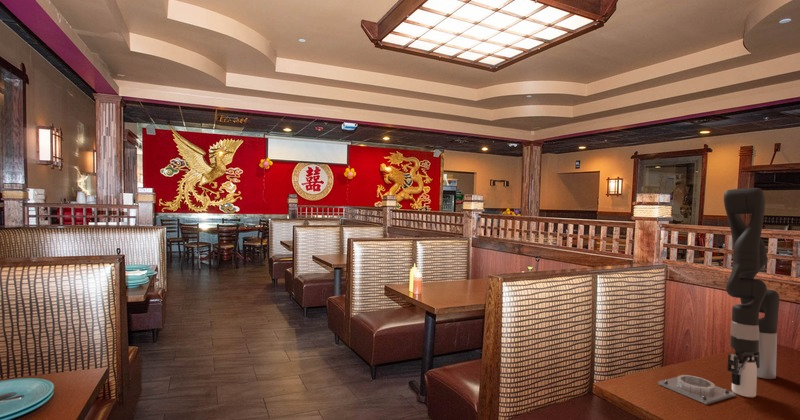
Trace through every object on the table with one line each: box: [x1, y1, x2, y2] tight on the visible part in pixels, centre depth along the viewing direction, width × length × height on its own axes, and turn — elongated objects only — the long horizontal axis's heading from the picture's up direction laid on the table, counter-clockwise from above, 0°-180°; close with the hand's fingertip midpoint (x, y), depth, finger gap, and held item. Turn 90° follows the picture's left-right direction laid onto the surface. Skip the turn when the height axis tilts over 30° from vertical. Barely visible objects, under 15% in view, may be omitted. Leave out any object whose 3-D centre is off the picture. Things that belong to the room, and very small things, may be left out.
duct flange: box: [657, 374, 736, 406], centre depth 141 cm, size 16×16×3 cm
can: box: [731, 360, 758, 399], centre depth 139 cm, size 6×6×12 cm
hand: (743, 382), depth 139 cm, fingers open, 8 cm apart
